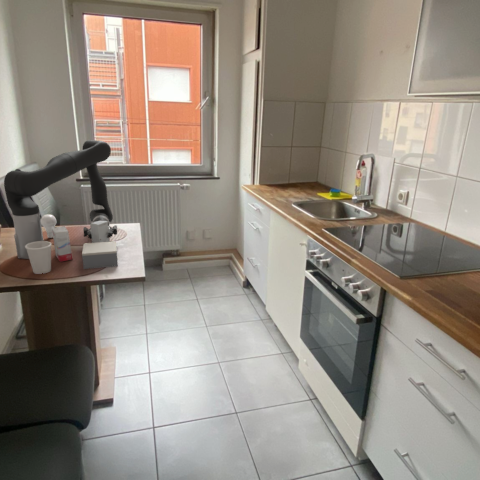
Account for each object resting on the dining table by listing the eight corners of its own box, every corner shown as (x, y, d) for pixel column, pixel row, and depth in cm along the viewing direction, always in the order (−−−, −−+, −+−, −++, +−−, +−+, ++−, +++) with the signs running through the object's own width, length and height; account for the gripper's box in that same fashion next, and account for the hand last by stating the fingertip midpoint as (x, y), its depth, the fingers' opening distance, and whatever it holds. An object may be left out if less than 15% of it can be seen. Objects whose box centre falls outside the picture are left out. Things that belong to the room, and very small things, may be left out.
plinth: (83, 269, 139) (81, 253, 137) (85, 257, 150) (83, 243, 148) (117, 266, 143) (116, 251, 141) (117, 255, 154) (115, 241, 152)
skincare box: (100, 253, 156) (97, 224, 152) (92, 251, 157) (89, 223, 153) (110, 248, 161) (108, 221, 157) (102, 247, 163) (100, 219, 159)
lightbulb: (39, 239, 170) (36, 215, 167) (50, 235, 176) (47, 212, 172) (51, 240, 168) (47, 216, 165) (61, 236, 174) (58, 213, 171)
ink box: (72, 260, 147) (69, 231, 144) (58, 262, 145) (54, 232, 141) (68, 253, 154) (65, 225, 150) (54, 255, 151) (51, 227, 148)
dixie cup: (35, 266, 140) (31, 240, 137) (58, 266, 141) (55, 240, 138) (24, 275, 132) (20, 248, 129) (49, 275, 133) (45, 248, 130)
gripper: (82, 217, 167) (80, 228, 153) (116, 216, 172) (117, 226, 157) (84, 234, 170) (82, 245, 155) (118, 232, 174) (119, 243, 159)
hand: (100, 235), depth 156 cm, fingers closed on skincare box, 7 cm apart
